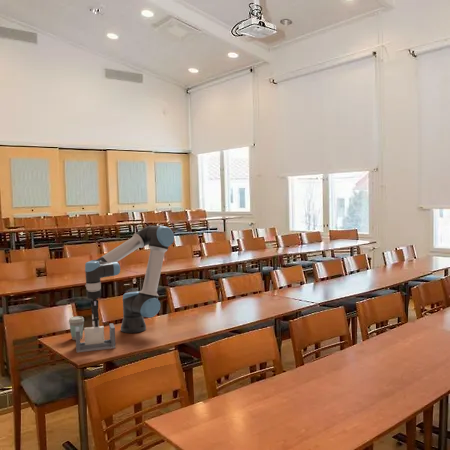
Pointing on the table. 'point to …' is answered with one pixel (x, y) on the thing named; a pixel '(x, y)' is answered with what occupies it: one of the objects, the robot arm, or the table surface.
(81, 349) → the track
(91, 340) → the block
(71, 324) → the coffee cup
